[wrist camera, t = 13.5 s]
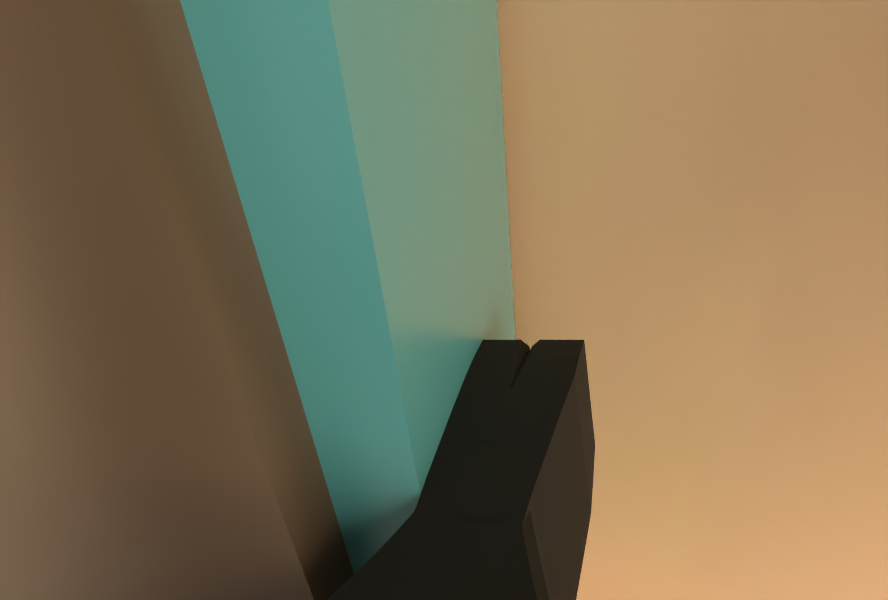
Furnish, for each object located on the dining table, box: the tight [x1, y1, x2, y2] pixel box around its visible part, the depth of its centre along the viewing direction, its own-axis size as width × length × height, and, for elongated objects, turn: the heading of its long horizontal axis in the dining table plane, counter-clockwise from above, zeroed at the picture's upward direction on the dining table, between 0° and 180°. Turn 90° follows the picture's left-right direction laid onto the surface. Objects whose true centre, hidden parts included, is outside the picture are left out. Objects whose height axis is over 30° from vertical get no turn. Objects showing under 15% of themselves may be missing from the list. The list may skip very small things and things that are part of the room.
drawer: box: [180, 0, 516, 574], centre depth 12 cm, size 14×16×6 cm
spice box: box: [0, 0, 354, 600], centre depth 12 cm, size 14×16×7 cm
